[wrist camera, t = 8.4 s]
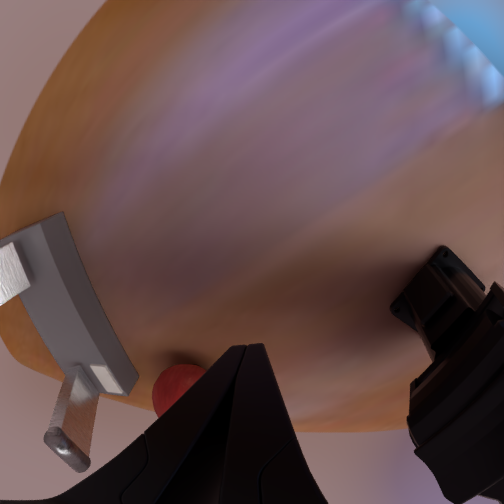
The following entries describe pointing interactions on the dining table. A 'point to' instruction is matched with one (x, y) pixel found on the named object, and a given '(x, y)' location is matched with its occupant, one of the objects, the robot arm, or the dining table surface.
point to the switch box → (69, 306)
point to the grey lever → (73, 420)
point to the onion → (174, 385)
